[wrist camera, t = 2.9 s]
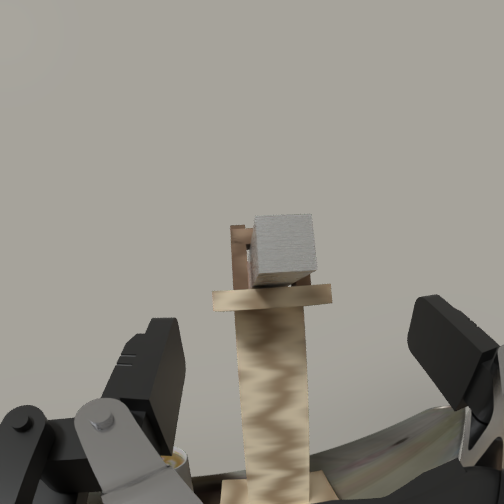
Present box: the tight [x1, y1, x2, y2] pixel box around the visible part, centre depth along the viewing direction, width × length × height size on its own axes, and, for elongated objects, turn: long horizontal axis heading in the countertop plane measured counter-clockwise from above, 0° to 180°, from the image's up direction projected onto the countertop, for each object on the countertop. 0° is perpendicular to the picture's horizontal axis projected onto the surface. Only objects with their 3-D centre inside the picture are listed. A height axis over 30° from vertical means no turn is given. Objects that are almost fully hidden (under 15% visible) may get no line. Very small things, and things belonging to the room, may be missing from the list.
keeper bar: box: [247, 214, 317, 289], centre depth 33 cm, size 7×25×5 cm, turn 2°
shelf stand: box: [212, 225, 339, 504], centre depth 35 cm, size 16×14×39 cm
